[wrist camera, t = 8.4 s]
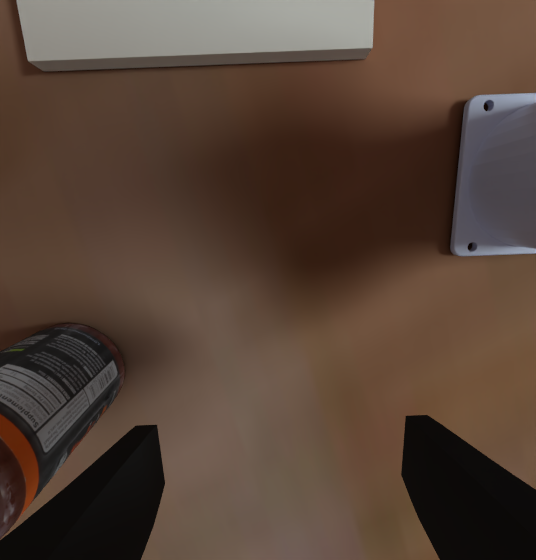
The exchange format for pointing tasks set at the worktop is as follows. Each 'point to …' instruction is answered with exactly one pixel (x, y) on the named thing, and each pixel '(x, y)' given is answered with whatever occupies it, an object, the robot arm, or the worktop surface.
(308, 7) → the pin board
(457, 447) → the robot arm
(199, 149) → the worktop surface
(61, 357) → the supplement bottle
